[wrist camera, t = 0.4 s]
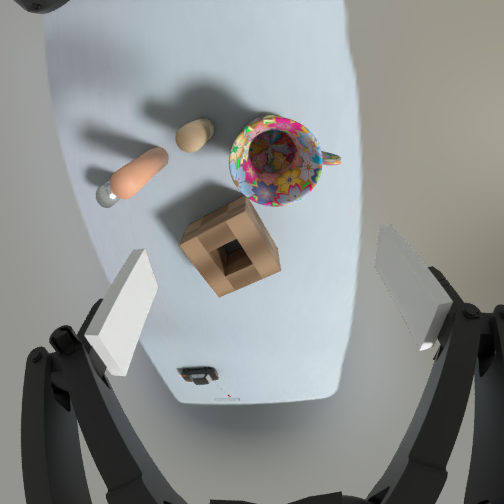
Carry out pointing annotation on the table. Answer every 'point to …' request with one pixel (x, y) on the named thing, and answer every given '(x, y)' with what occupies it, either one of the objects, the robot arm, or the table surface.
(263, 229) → the block
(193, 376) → the toy car
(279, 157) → the mug
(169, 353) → the table surface
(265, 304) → the table surface
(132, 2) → the table surface
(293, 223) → the table surface
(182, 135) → the medium pin
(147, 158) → the long pin
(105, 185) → the short pin
